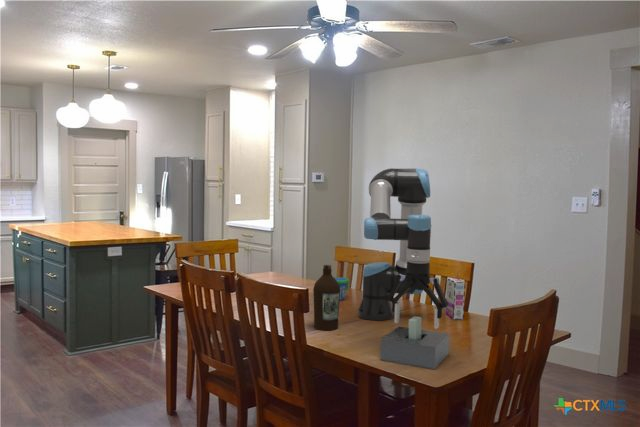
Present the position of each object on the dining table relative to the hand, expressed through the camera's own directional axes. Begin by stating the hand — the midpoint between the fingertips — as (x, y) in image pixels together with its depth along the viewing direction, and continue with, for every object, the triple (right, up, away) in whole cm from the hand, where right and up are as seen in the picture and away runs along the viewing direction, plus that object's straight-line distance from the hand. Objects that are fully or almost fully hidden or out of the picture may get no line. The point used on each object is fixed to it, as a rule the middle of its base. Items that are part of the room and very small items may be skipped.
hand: (416, 325), depth 180 cm
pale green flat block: (0, -10, +1) cm, 10 cm away
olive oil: (-30, -8, +35) cm, 47 cm away
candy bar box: (+27, -8, +57) cm, 64 cm away
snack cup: (-23, -6, +89) cm, 93 cm away
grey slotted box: (0, -11, +1) cm, 11 cm away
